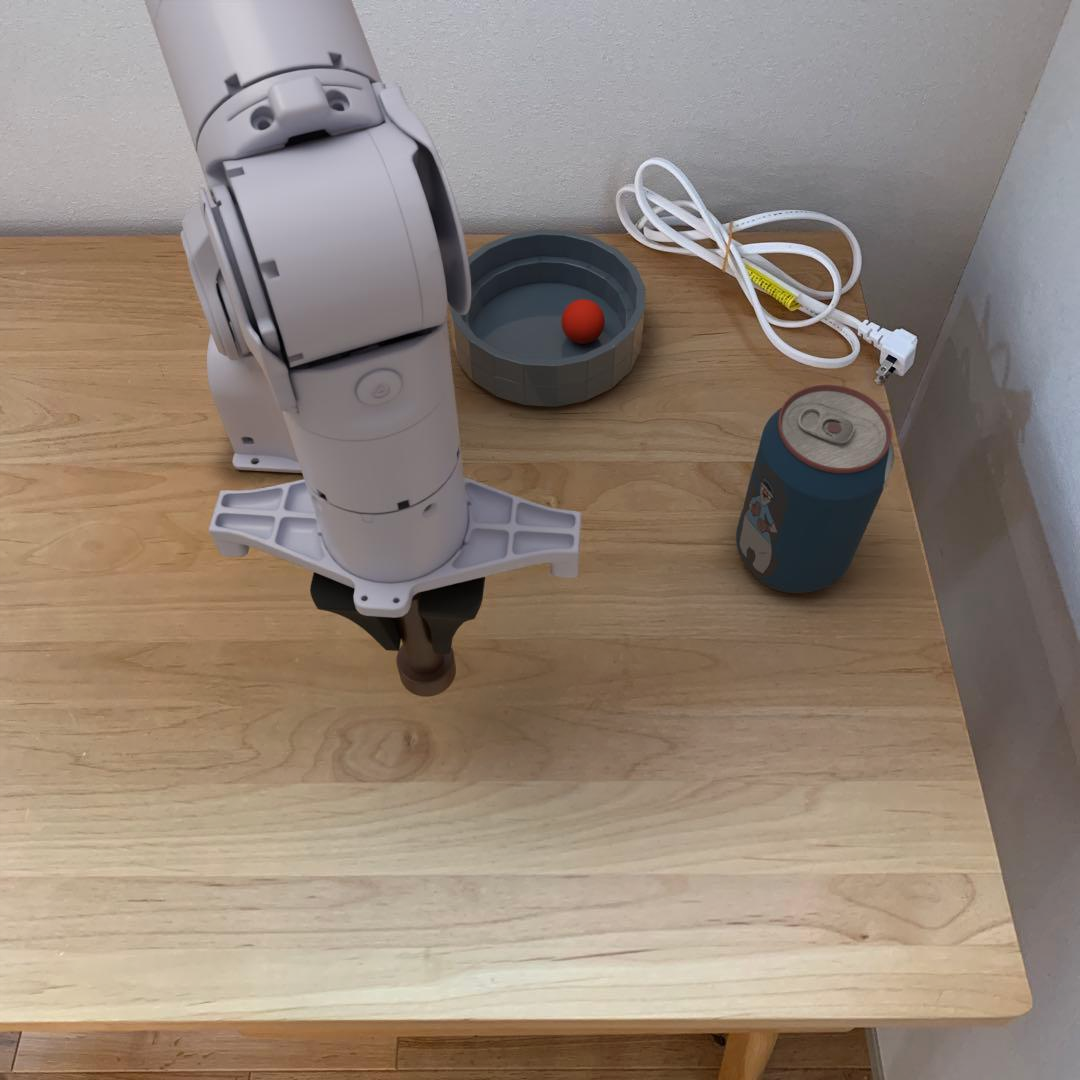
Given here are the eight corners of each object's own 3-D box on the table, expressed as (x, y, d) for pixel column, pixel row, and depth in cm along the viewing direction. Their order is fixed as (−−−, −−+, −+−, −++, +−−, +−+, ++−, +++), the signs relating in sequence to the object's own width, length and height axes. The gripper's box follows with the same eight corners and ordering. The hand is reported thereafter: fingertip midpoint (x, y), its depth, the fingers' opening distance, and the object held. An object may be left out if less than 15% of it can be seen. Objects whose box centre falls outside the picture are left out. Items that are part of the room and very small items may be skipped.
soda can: (864, 536, 63) (922, 406, 53) (822, 621, 60) (877, 499, 50) (759, 492, 65) (797, 358, 55) (714, 572, 62) (745, 444, 52)
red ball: (559, 351, 71) (560, 319, 69) (562, 321, 73) (562, 289, 70) (603, 353, 71) (604, 321, 69) (604, 323, 73) (606, 291, 70)
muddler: (395, 695, 50) (371, 608, 43) (404, 645, 52) (382, 553, 45) (452, 699, 50) (437, 612, 43) (459, 648, 52) (445, 557, 45)
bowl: (443, 407, 69) (436, 360, 66) (465, 274, 77) (460, 225, 73) (638, 417, 69) (643, 370, 65) (641, 282, 76) (646, 233, 72)
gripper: (148, 529, 35) (246, 701, 46) (577, 555, 34) (569, 723, 45) (202, 375, 39) (280, 568, 50) (587, 396, 38) (578, 587, 49)
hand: (419, 633), depth 48 cm, fingers closed on muddler, 2 cm apart
